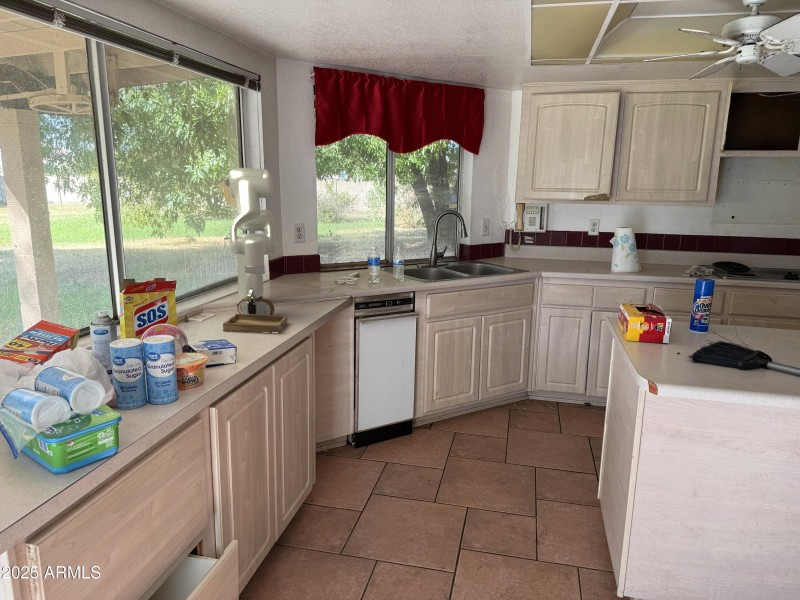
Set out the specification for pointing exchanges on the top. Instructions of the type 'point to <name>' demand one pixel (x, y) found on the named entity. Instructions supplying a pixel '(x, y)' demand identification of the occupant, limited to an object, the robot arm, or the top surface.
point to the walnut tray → (254, 323)
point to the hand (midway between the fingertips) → (255, 311)
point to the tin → (257, 307)
